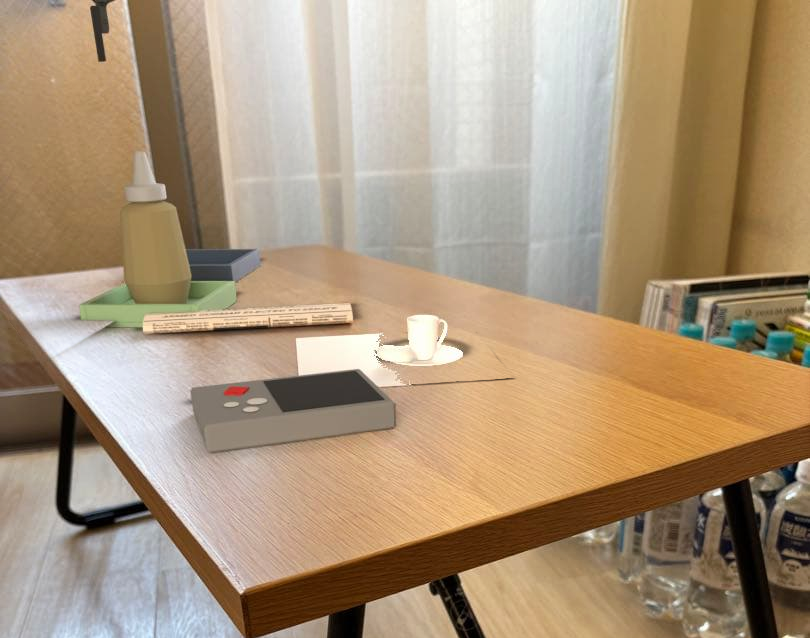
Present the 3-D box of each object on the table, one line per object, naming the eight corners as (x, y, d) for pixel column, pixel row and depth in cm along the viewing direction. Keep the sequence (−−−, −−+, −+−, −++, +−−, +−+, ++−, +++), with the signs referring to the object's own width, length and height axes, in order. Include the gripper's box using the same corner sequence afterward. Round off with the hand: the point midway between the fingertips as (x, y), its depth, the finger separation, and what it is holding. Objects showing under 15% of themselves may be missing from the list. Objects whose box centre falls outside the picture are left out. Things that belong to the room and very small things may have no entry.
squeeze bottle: (203, 301, 115) (184, 148, 107) (183, 315, 107) (161, 153, 99) (143, 301, 115) (119, 150, 107) (119, 315, 108) (91, 154, 100)
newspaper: (144, 336, 100) (141, 320, 100) (151, 322, 107) (149, 307, 106) (353, 325, 103) (352, 310, 102) (348, 312, 109) (347, 297, 108)
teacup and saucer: (380, 373, 86) (378, 330, 84) (372, 351, 93) (370, 312, 91) (470, 367, 87) (470, 325, 85) (455, 347, 94) (455, 307, 92)
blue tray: (136, 284, 130) (133, 265, 128) (171, 266, 143) (169, 249, 141) (233, 284, 128) (231, 265, 127) (260, 265, 141) (259, 248, 140)
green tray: (82, 327, 106) (78, 304, 105) (131, 300, 119) (127, 281, 118) (200, 327, 104) (197, 305, 103) (237, 301, 117) (234, 281, 116)
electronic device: (189, 385, 75) (360, 365, 79) (193, 412, 76) (361, 392, 80) (203, 423, 66) (396, 399, 70) (208, 454, 68) (397, 429, 71)
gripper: (115, -120, 118) (140, 61, 128) (-94, -131, 110) (-50, 64, 120) (122, -132, 112) (148, 59, 122) (-99, -145, 104) (-52, 62, 113)
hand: (50, 62), depth 121 cm, fingers open, 13 cm apart
